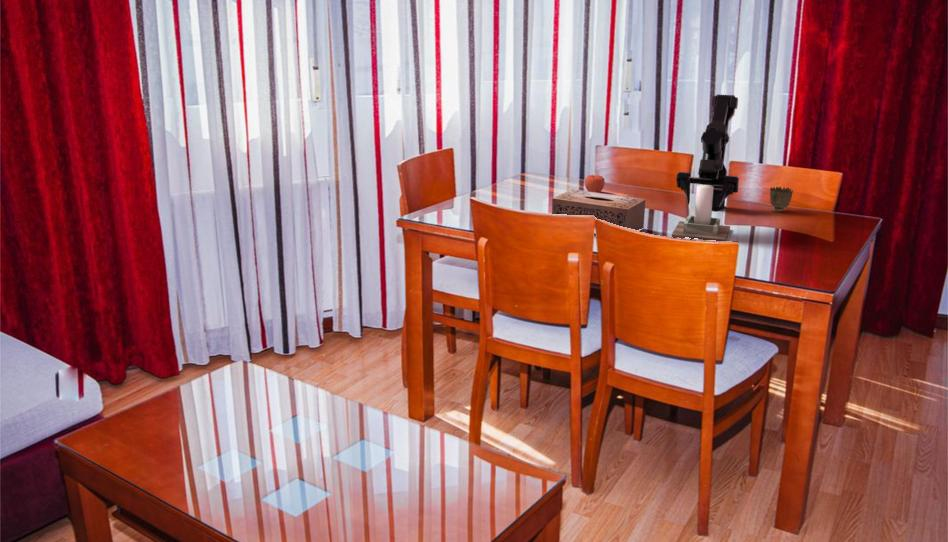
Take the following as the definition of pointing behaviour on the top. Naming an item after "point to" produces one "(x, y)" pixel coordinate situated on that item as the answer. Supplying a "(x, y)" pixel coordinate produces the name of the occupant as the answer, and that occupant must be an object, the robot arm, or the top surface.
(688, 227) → the collar seat
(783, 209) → the cup
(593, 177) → the apple
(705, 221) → the cream post
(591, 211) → the tissue box cover
